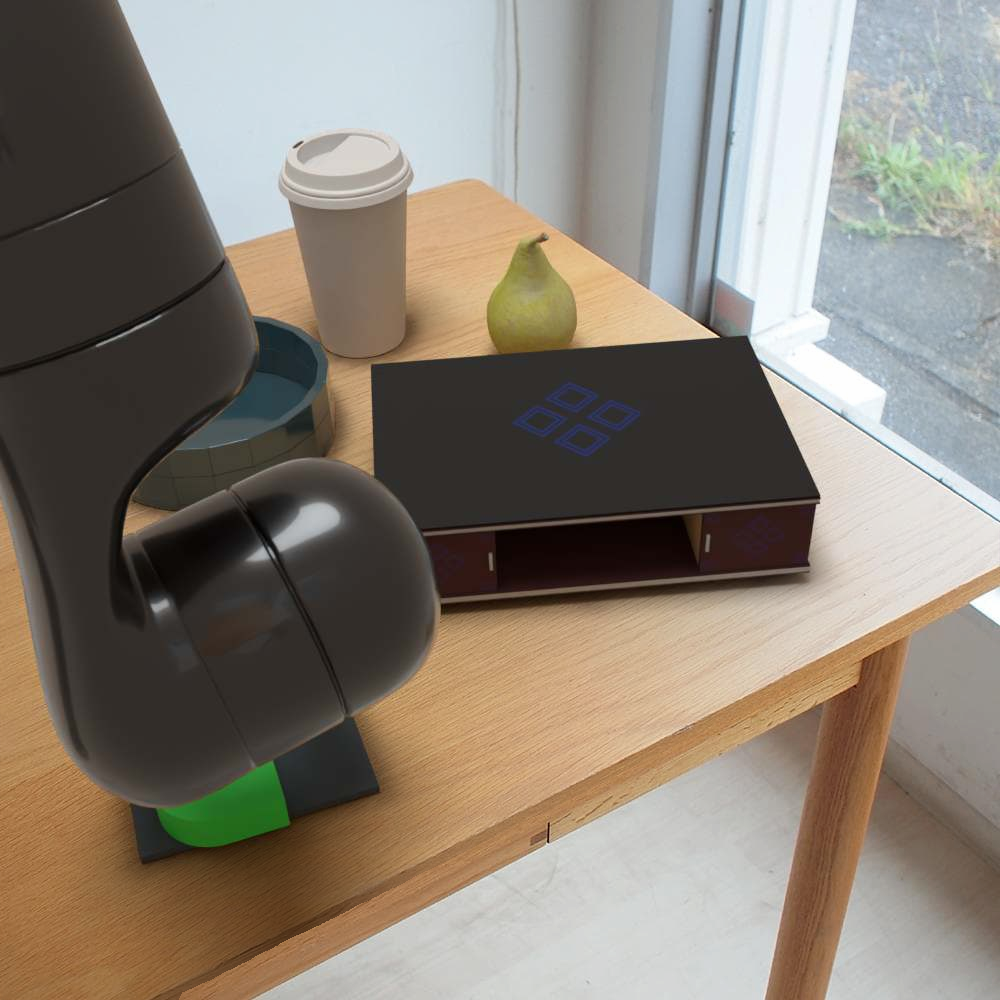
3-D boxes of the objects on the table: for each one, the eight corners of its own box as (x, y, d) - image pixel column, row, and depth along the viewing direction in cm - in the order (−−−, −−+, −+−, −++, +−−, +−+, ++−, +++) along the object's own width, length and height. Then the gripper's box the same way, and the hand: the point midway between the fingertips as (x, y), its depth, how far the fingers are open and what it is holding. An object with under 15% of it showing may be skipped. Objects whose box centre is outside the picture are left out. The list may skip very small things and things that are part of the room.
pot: (112, 536, 84) (95, 474, 80) (84, 401, 96) (67, 342, 93) (362, 476, 88) (355, 414, 85) (304, 353, 100) (296, 295, 97)
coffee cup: (368, 291, 107) (350, 112, 98) (450, 332, 102) (439, 147, 92) (275, 338, 102) (246, 154, 92) (357, 384, 96) (335, 194, 87)
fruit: (561, 325, 102) (561, 180, 94) (593, 376, 96) (595, 226, 89) (477, 339, 101) (470, 194, 93) (504, 392, 95) (499, 241, 87)
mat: (142, 864, 64) (140, 858, 64) (115, 719, 71) (113, 713, 71) (380, 792, 67) (379, 785, 67) (331, 660, 74) (330, 654, 74)
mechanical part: (132, 691, 72) (100, 583, 67) (240, 662, 74) (217, 554, 69) (168, 862, 63) (134, 752, 58) (290, 824, 65) (267, 714, 60)
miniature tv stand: (808, 583, 78) (821, 495, 74) (386, 620, 77) (375, 533, 73) (739, 416, 92) (747, 334, 88) (379, 445, 90) (370, 363, 86)
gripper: (382, 510, 53) (339, 553, 69) (13, 601, 49) (58, 624, 66) (430, 691, 52) (375, 692, 69) (60, 797, 49) (94, 772, 65)
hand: (220, 659), depth 67 cm, fingers open, 6 cm apart
